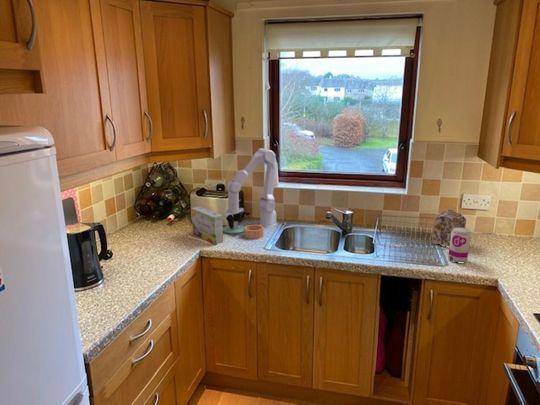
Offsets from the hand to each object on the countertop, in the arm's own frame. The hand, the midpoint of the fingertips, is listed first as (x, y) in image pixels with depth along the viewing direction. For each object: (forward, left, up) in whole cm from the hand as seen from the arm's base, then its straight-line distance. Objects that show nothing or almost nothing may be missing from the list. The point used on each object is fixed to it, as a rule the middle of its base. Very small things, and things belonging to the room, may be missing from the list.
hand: (233, 226), depth 228 cm
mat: (0, 0, -2) cm, 2 cm away
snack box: (+18, -2, -3) cm, 18 cm away
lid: (0, 0, -2) cm, 2 cm away
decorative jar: (-55, +98, -3) cm, 112 cm away
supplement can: (-35, +108, -2) cm, 114 cm away
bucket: (0, +14, -2) cm, 15 cm away
